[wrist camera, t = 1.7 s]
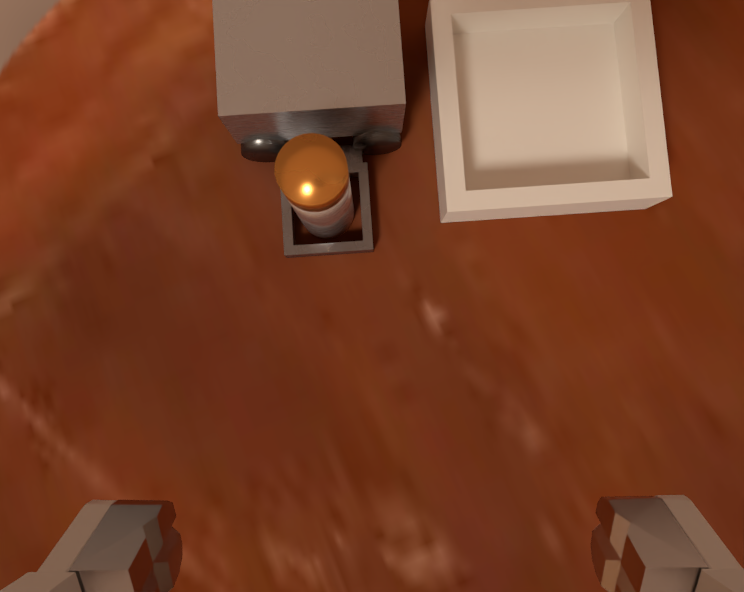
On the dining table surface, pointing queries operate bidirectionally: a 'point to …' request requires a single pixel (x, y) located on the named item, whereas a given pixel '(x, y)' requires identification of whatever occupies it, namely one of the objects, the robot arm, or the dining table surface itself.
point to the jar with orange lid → (316, 184)
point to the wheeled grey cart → (311, 86)
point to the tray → (545, 107)
